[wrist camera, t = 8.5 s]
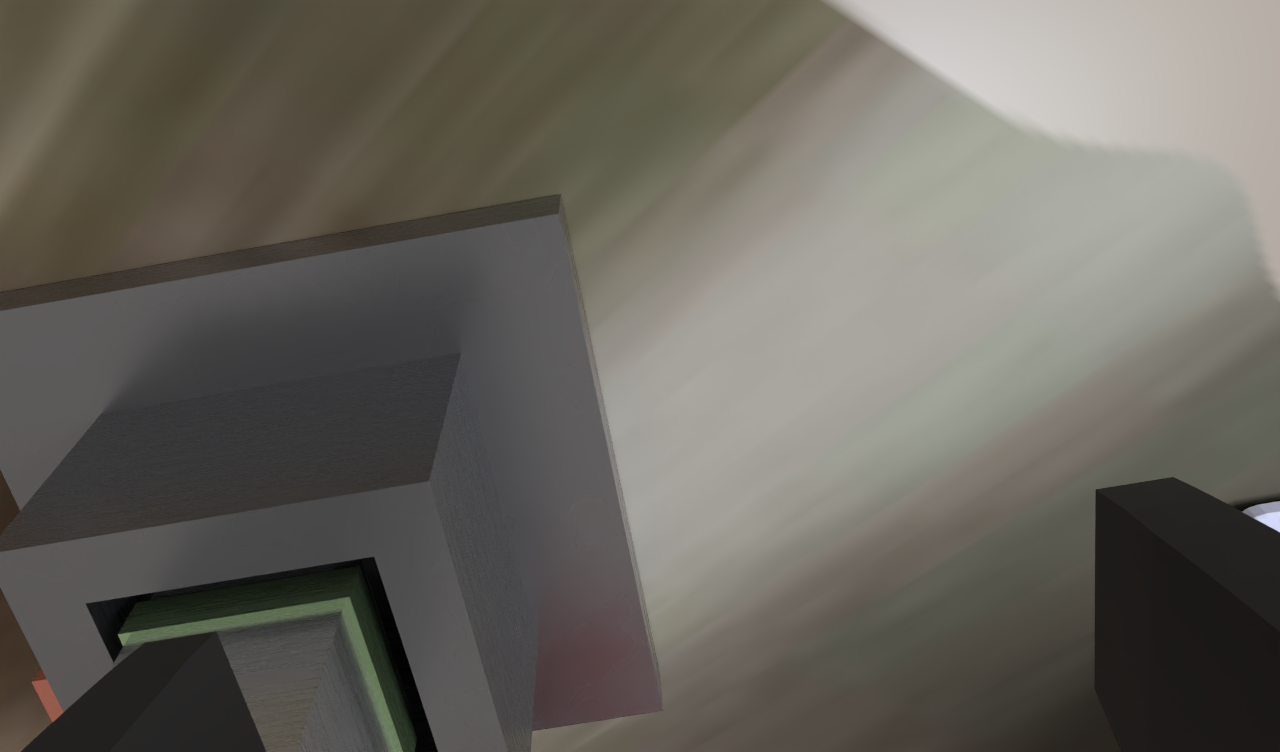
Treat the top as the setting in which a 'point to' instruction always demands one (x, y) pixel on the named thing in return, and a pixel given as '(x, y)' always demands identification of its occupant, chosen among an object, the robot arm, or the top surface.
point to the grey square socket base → (337, 461)
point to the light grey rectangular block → (295, 655)
